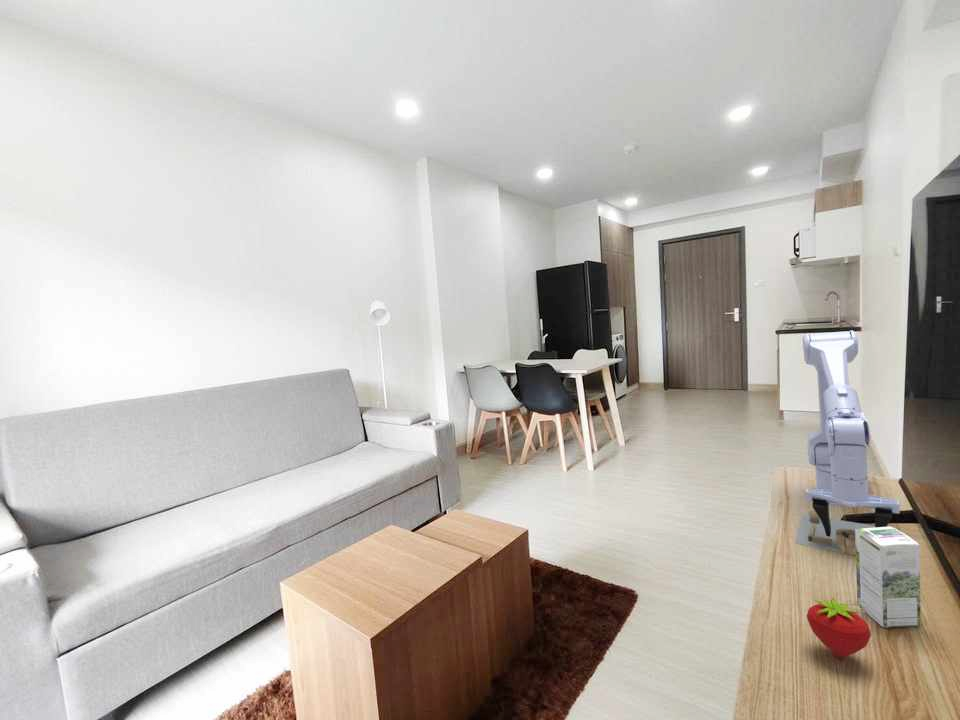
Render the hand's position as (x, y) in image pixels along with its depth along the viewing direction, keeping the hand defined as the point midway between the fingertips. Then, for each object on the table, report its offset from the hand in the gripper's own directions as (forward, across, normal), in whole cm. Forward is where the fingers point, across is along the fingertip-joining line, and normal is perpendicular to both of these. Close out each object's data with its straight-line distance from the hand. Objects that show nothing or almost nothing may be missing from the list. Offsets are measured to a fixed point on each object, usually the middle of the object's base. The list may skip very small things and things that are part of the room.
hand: (852, 538), depth 91 cm
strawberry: (+3, -1, -34) cm, 34 cm away
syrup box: (+3, +5, -20) cm, 20 cm away
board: (+3, -3, +5) cm, 7 cm away
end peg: (+2, 0, 0) cm, 2 cm away
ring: (+2, 0, 0) cm, 2 cm away
